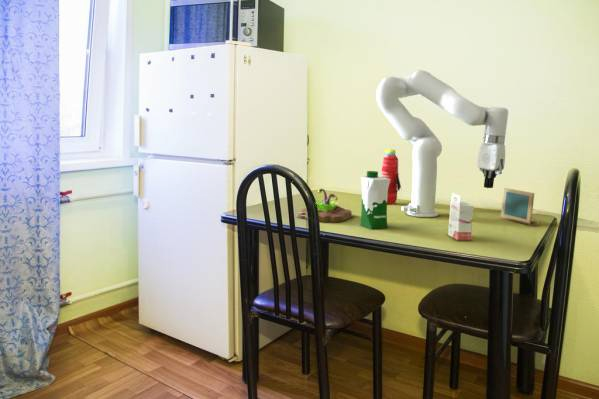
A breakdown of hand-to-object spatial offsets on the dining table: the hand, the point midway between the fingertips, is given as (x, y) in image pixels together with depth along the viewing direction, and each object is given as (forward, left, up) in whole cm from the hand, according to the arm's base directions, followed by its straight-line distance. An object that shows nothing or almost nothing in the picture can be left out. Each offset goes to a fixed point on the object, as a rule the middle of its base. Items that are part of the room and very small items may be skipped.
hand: (488, 187), depth 195 cm
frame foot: (+11, -6, -13) cm, 18 cm away
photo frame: (+9, -6, -6) cm, 12 cm away
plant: (-56, +29, -13) cm, 64 cm away
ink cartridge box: (-29, -18, -13) cm, 37 cm away
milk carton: (-47, +7, -13) cm, 49 cm away
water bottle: (-14, +45, -13) cm, 49 cm away
